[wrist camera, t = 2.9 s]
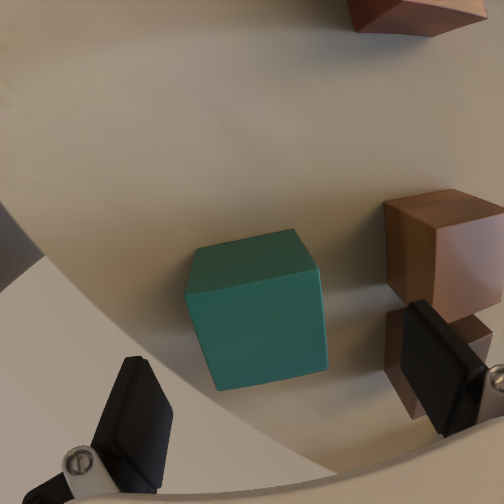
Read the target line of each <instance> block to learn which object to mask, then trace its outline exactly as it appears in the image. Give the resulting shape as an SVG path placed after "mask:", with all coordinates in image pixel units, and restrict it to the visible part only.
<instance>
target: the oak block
mask: <svg viewBox="0 0 504 504" xmlns="http://www.w3.org/2000/svg"><path fill="white" fill-rule="evenodd" d="M384 210H385V225H386V245H387V284H388V286H389V287H390V288H391V289H392V290H393V291H394V292H395V293H396V294H397V295H398V296H399V298H400V299H401V300H402V301H403V302H404V303H405V304H406V305H407V306H408V304H409V303H410V302H413V301H416V300H420V299H425V300H426V301H427V302H428V303H429V304H430V305H431V306H432V307H433V308H434V309H435V310H436V311H437V312H438V313H439V315H440V316H441V317H442V318H443V319H444V320H445V321H446V322H447V323H451V322H454V321H456V320H459V319H461V318H464V317H466V316H469V315H471V314H474V313H476V312H478V311H481V310H483V309H486V308H488V307H490V306H492V305H495V304H497V303H499V302H500V301H501V297H502V291H503V286H504V208H503V207H501V206H498V205H496V204H493V203H491V202H488V201H486V200H483V199H480V198H478V197H475V196H472V195H469V194H467V193H464V192H461V191H458V190H455V189H452V190H446V191H440V192H434V193H428V194H423V195H417V196H411V197H406V198H400V199H395V200H389V201H385V202H384Z"/></svg>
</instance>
